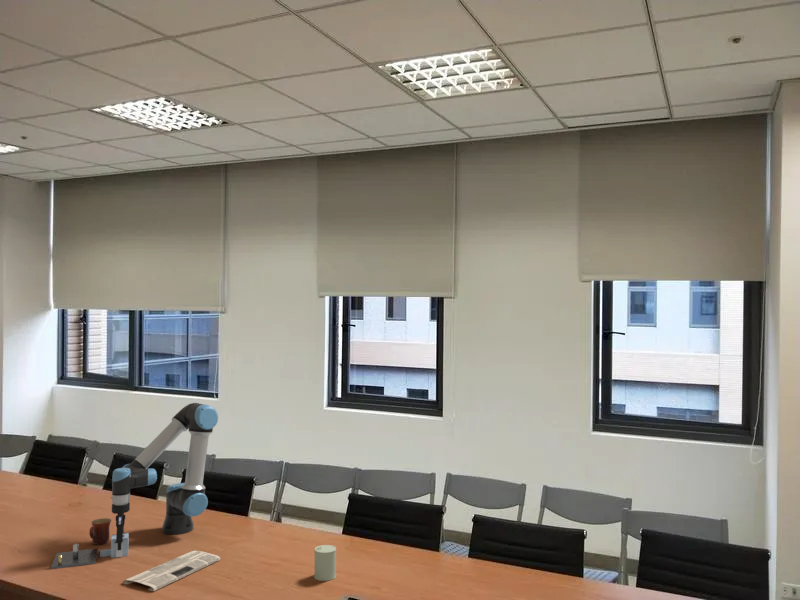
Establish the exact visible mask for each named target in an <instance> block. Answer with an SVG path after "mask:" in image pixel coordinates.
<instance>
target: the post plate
mask: <svg viewBox="0 0 800 600" xmlns="http://www.w3.org/2000/svg"><path fill="white" fill-rule="evenodd" d="M79 546H80V544H79V543H74V544H73V545H72V550H71V551H63V552H56V554H55V557H54V559H53V561H52V564H51V565H50V569H51V570H54V569H55V570H56V569H62V568H70V567H78V566H79V567H80V566H86V565H95V564H96V561H97V556H98V553H99V548H98V547H97V548H89V549H88V548H87V549H80V550H79Z"/></svg>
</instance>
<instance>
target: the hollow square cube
mask: <svg viewBox="0 0 800 600" xmlns="http://www.w3.org/2000/svg"><path fill="white" fill-rule="evenodd" d="M129 534H130V533H129V532H124V534H123V557H128V555H129V545H130V544H129V536H130V535H129ZM116 538H117V533H116V534H112V535H111V538H110V541H111V543H110V548H109V549H108V548H107V549H101V550H100V551H99V552H100V553H99V557H100V558H105V557H110V558H111V559H113V558H117V557H116V543H115V542H116ZM120 540H121V539H120Z"/></svg>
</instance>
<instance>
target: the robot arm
mask: <svg viewBox="0 0 800 600" xmlns="http://www.w3.org/2000/svg"><path fill="white" fill-rule="evenodd" d="M218 421H219V413H218V411H217V410H216V409H215V408H214V407H213V406H211V405H209V404H205V403H204V404H203V403H198V402H192V403H189V404H187V405H185V406H184V407H183V408H182V409H179V411H178V412H177V413H176V414H175V415H173V417H172V418H171V422H170V423H169V424H167V426H166V427H165V428H164V429H163V430H162V431H161V432H160V433H159V434H158V435H157V436H156V437H155V438H154V439H153V440H152V441H151V442H150V443H149V444H148V445H147V446H146V447H145V448H144V449H143V450H142V451H141V452H140V454H139V455H137V457H135V459H134V460H132V462H131V463H127V464H124V465H123V466H122V467H119V468H115V469H114V470H113V471H112V476H111V477H112V479H111V484H112V485H111V487H112V488H111V491H112V492H111V493H112V495H111V496H110V499H111V513H112V514H114V515H115V514H116V515H115V527H116V534H117V538H116V542H115V543H116V557H115V558H123V557H124V556H123V534H124V533H125V529H124V527H125V522H126V521H125V520H126V514H125V513H128V512H130V508H131V506H130V502H131V489H134V488H135V489H136V488H140V487H148V486H151V485H154V484H156V482H157V479H158V474H157V473H158V472H157V470H156V469H155V468H151V467H150V466H151V465H152V464H153V463H154V462H155V461H156V460H157V459H158V458H159V456H161V455H162V453H164V452H165V451H166V450H167V448H168V447H169V446H170V445H172V444H173V442H174V441H175V440H176V439H177V438H178V437H179V436H180V435H181V434H182V433H184V432H187V431H188V433H190V440H189V447H188V448H189V449H188V456H187V465H186V470H185V471H186V472H185V480H184V482H181V483H175V484H170V485H168V486H167V487H166V492H165V494H166V499H165V503H166V505H165V511H166V512H165V513H166V514H165V517H164V521H163V523H162V527H161V528H162V529H161V531H162V533H163V534H165V535H182V534H185V533H189V532H191V531H193V530H194V521H193V518H194V517H198V516H199V515H201V514H202V513H203V512H205V511H206V509H207V507H208V503H209V500H208V497H207V495H206V493H205V492H206V486H205V485H204V478H205V477H204V475H205V468H206V467H205V466H206V462H207V461H206V460H207V453H208V452H207V451H208V445H209V436H210V435H212V434H213V430H214V428H215V426H216V425H217V424H218ZM149 467H150V468H149ZM120 539H121V540H120Z"/></svg>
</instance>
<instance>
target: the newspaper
mask: <svg viewBox="0 0 800 600" xmlns="http://www.w3.org/2000/svg"><path fill="white" fill-rule="evenodd" d="M220 560H221V557H220V556H219V555H217V554H213V553H209V552H205V551H201V550H191V551H189V552H187V553H185V554H184V553H183V554H182V555H180V556H177V557H175V558H173V559H170V560H168V561H166V562H164V563H161V564H159V565H156V566H154V567H152V568H149V569H147V570H145V571H143V572H141V573H138V574H135V575H133V576H131V577H128V578H126V579H124V580H122V583H123V585H131V584H133V583H138V584H142V585H145V586H148V587H149V588H147V590H148V591H150V592H156V591H158V590H160V589H161V588H162V589H163V588H164V587H167V586H168V585H171V584H173V583H175V582H176V581H179V580H181V579H184V578H186V577H187V576H189V575H192V574H194V573H196V572H198V571H201V570H202V569H204V568H206V567H209V566H210V565H212V564H215V563H217V562H218V561H220Z"/></svg>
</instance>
